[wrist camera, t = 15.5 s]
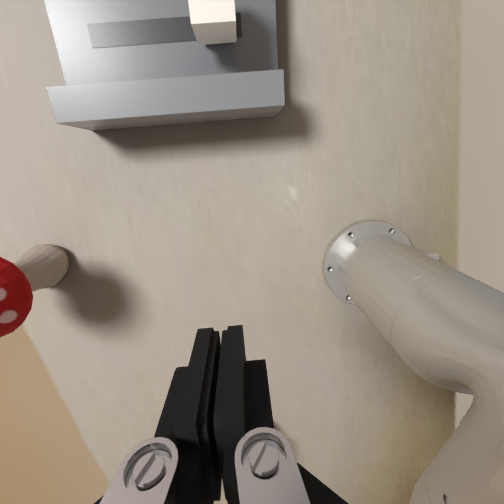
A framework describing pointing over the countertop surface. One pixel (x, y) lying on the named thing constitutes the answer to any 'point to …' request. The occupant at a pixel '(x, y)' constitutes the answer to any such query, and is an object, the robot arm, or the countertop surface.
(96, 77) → the panel
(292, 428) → the countertop surface
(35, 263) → the decorative mushroom
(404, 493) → the countertop surface
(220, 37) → the knob
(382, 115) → the countertop surface
